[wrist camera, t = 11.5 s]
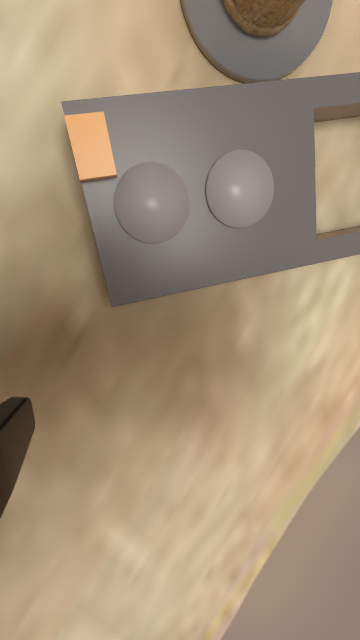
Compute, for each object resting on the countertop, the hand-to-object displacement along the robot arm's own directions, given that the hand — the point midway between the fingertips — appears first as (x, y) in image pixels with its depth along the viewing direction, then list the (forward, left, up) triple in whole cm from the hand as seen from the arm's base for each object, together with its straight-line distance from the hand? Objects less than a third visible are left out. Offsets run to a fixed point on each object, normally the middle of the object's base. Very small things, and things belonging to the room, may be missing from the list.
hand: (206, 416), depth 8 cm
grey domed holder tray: (+8, +6, -11) cm, 15 cm away
